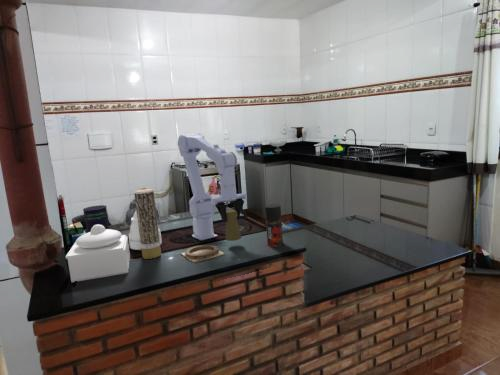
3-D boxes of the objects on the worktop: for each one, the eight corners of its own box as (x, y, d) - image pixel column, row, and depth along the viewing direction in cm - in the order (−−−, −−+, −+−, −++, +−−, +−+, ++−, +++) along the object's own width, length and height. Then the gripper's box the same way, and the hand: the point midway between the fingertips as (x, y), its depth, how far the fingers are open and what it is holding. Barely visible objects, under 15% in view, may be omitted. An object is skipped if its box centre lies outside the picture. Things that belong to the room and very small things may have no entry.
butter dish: (128, 273, 121) (122, 227, 118) (69, 283, 116) (61, 235, 114) (130, 256, 138) (125, 216, 135) (79, 264, 133) (72, 222, 130)
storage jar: (91, 244, 157) (86, 211, 155) (84, 240, 164) (79, 208, 162) (114, 239, 163) (110, 206, 161) (106, 235, 171) (102, 204, 168)
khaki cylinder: (239, 240, 136) (235, 211, 134) (223, 241, 137) (220, 212, 136) (242, 235, 142) (239, 208, 140) (228, 236, 143) (224, 209, 142)
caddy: (180, 254, 135) (180, 250, 135) (209, 246, 141) (209, 242, 141) (194, 263, 125) (193, 258, 125) (224, 254, 131) (224, 249, 131)
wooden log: (164, 253, 137) (157, 188, 134) (154, 260, 131) (146, 192, 127) (149, 253, 140) (141, 189, 136) (138, 259, 133) (130, 192, 130)
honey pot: (168, 242, 151) (163, 200, 149) (140, 251, 142) (134, 207, 139) (151, 238, 160) (146, 198, 157) (124, 246, 151) (118, 204, 148)
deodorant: (265, 246, 137) (262, 207, 135) (270, 241, 142) (267, 204, 140) (280, 247, 135) (277, 207, 132) (285, 242, 140) (282, 204, 138)
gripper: (215, 188, 129) (219, 225, 131) (249, 183, 137) (252, 218, 139) (207, 187, 135) (210, 222, 137) (240, 181, 143) (242, 215, 145)
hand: (231, 220), depth 139 cm, fingers closed on khaki cylinder, 5 cm apart
